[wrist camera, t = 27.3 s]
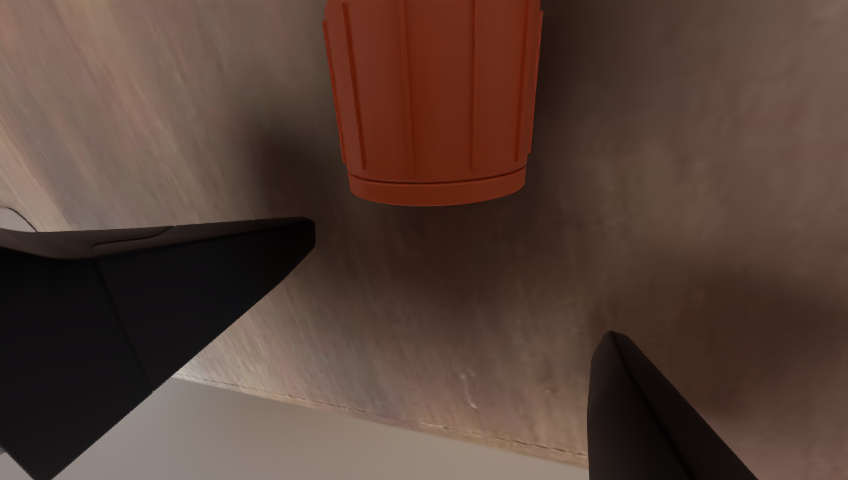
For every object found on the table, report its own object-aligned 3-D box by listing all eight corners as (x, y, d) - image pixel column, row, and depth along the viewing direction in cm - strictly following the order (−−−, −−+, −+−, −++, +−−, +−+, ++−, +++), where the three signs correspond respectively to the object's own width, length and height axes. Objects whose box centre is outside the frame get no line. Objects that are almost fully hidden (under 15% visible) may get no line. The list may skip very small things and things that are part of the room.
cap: (509, -72, 3) (495, 218, 5) (555, 14, 6) (539, 170, 8) (272, 4, 5) (310, 195, 6) (399, 42, 8) (407, 164, 10)
